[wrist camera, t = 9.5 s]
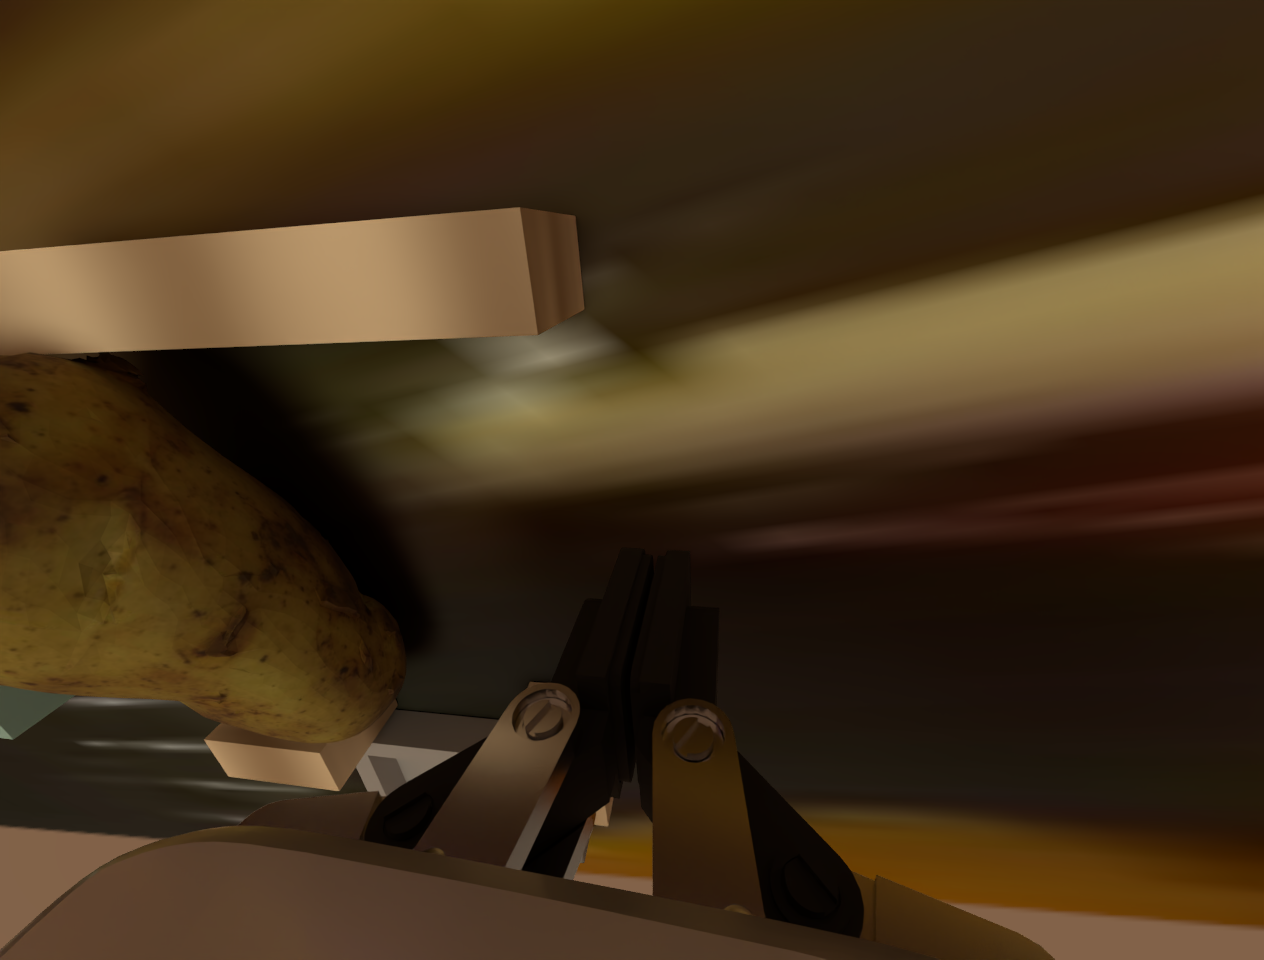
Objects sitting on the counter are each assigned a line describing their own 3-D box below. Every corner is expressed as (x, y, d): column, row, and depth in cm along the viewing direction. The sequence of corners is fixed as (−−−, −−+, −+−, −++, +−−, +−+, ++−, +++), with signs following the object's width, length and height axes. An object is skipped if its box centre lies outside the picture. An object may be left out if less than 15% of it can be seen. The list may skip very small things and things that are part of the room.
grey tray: (576, 727, 19) (565, 764, 17) (592, 824, 22) (584, 863, 20) (367, 706, 20) (342, 739, 19) (407, 800, 23) (389, 834, 22)
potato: (265, 650, 20) (13, 881, 13) (84, 320, 14) (-548, 405, 7) (454, 662, 18) (288, 931, 11) (334, 300, 13) (-145, 378, 6)
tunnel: (575, 215, 11) (519, 207, 8) (626, 726, 18) (608, 826, 15) (77, 255, 13) (-117, 261, 10) (301, 695, 21) (228, 776, 18)
